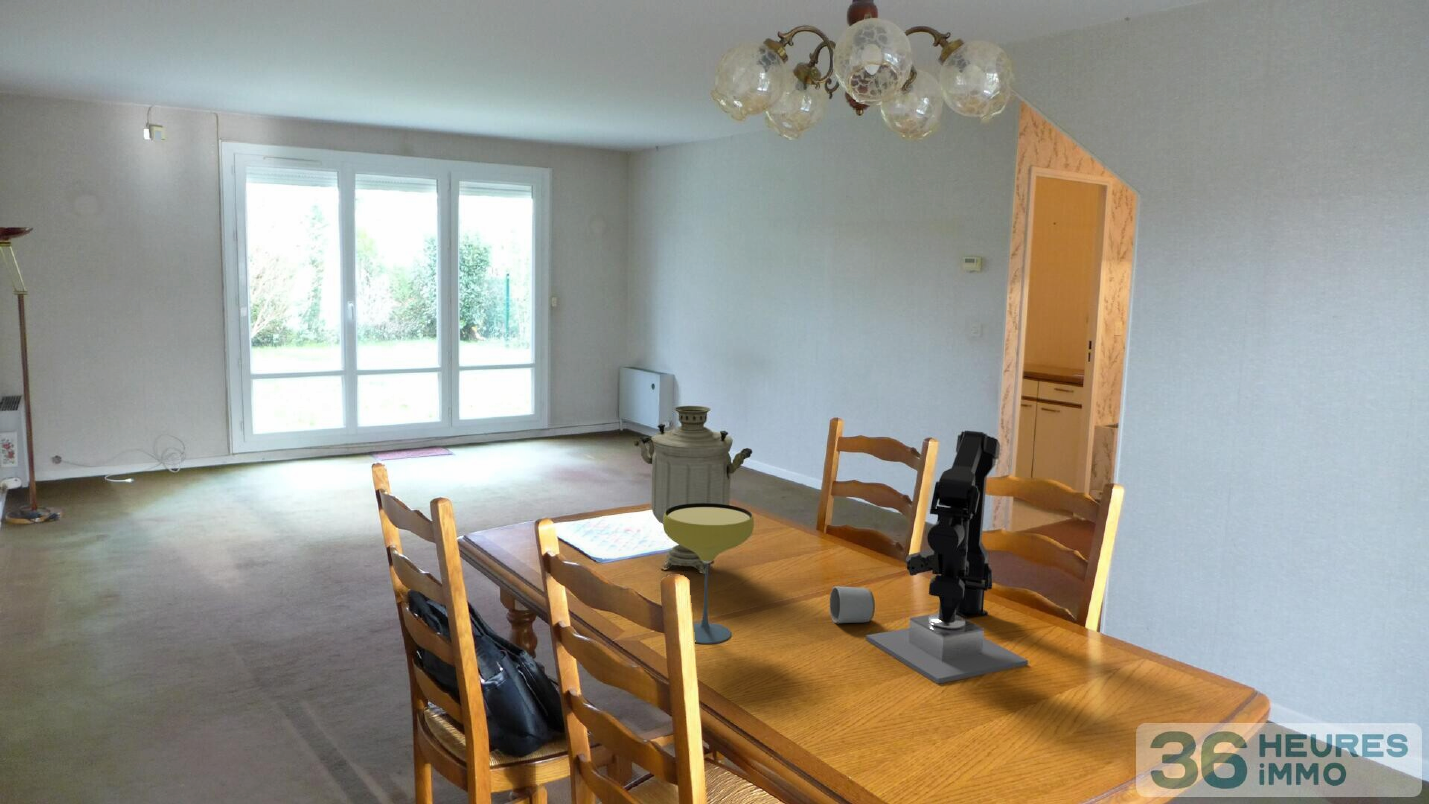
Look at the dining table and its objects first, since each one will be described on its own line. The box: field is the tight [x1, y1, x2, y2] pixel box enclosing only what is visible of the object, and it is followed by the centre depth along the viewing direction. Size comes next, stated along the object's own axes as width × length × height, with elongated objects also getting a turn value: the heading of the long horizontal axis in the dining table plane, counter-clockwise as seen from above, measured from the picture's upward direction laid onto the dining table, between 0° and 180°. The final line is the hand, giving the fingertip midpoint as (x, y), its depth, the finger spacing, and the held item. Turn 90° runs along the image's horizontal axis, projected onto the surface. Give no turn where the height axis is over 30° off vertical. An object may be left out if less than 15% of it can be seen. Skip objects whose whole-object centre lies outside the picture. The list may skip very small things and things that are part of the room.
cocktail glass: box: [662, 503, 755, 645], centre depth 185 cm, size 18×18×25 cm
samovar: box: [633, 405, 753, 573], centre depth 230 cm, size 30×26×40 cm
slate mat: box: [865, 627, 1029, 685], centre depth 181 cm, size 22×22×1 cm
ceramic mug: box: [829, 585, 876, 624], centre depth 197 cm, size 11×8×8 cm
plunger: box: [928, 603, 965, 629], centre depth 180 cm, size 7×7×8 cm
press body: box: [908, 612, 985, 661], centre depth 181 cm, size 10×10×5 cm
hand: (946, 618), depth 180 cm, fingers closed on plunger, 3 cm apart
